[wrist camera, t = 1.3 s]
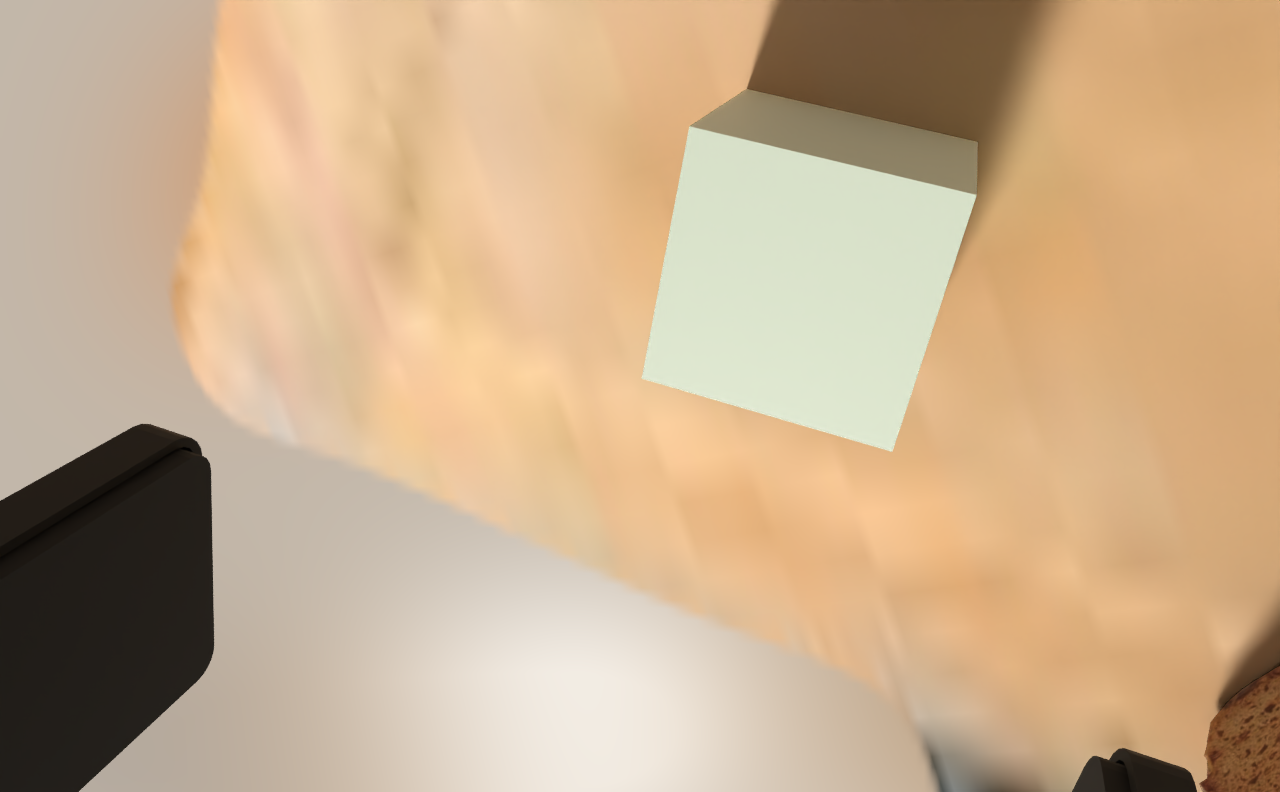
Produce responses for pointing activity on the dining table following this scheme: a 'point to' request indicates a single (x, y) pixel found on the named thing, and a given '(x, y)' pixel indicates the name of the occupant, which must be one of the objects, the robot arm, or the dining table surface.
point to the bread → (1246, 740)
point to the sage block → (809, 262)
